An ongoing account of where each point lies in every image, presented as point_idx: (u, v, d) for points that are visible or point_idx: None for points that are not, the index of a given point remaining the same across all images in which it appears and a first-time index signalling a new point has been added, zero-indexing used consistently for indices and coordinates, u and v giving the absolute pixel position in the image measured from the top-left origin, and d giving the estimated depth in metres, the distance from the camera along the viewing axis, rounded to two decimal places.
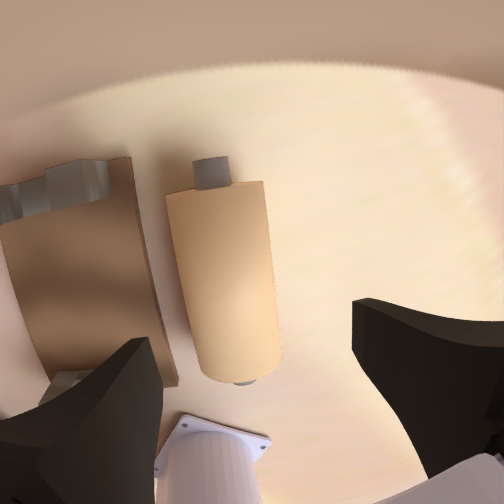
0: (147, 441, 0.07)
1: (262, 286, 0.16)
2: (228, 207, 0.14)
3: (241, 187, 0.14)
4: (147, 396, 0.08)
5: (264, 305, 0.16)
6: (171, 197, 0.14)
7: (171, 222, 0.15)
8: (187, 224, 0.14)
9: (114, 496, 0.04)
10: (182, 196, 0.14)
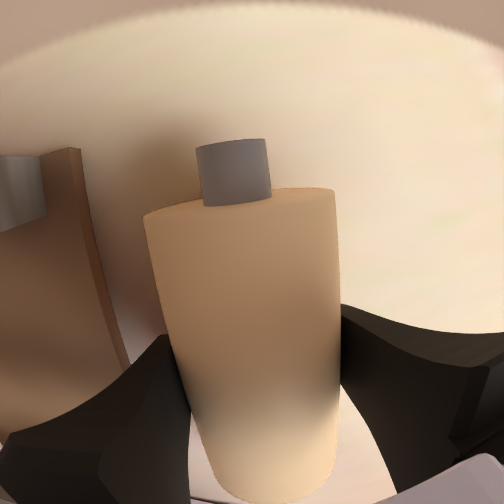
0: (181, 439, 0.08)
1: (336, 373, 0.08)
2: (301, 243, 0.06)
3: (320, 200, 0.07)
4: (180, 393, 0.09)
5: (335, 400, 0.09)
6: (165, 223, 0.06)
7: (161, 276, 0.07)
8: (209, 284, 0.06)
9: (161, 497, 0.05)
10: (196, 221, 0.06)
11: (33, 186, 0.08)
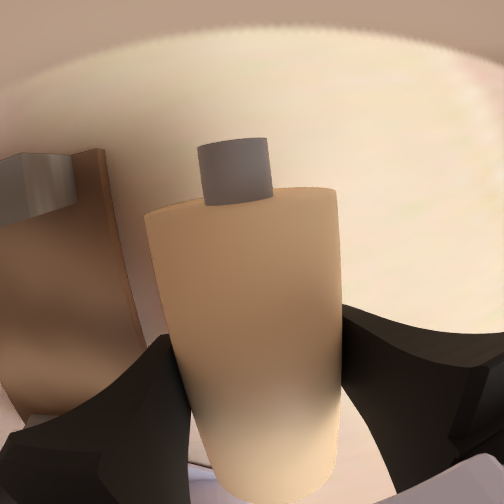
0: (181, 439, 0.08)
1: (337, 374, 0.08)
2: (302, 243, 0.06)
3: (321, 200, 0.07)
4: (180, 393, 0.09)
5: (336, 400, 0.09)
6: (165, 222, 0.06)
7: (162, 275, 0.07)
8: (209, 284, 0.06)
9: (161, 497, 0.05)
10: (196, 220, 0.06)
11: (67, 179, 0.11)
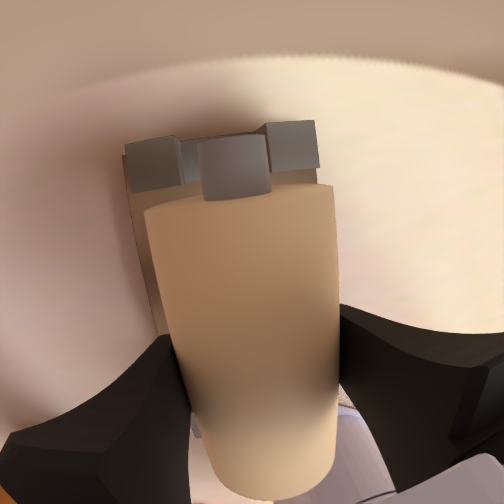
0: (181, 439, 0.08)
1: (333, 371, 0.08)
2: (294, 238, 0.06)
3: (315, 196, 0.07)
4: (180, 393, 0.09)
5: (332, 397, 0.09)
6: (162, 217, 0.07)
7: (160, 268, 0.07)
8: (202, 277, 0.07)
9: (161, 497, 0.05)
10: (190, 215, 0.06)
11: None
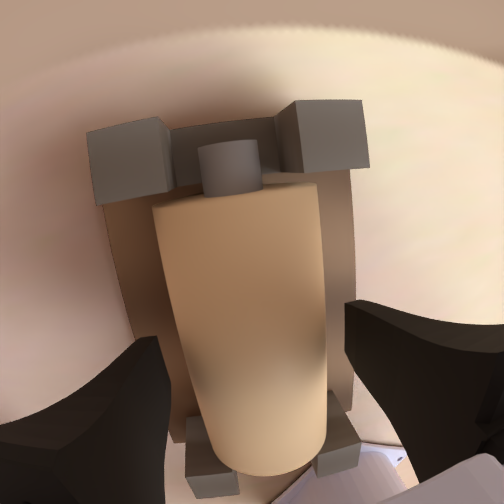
0: (157, 440, 0.08)
1: (320, 349, 0.10)
2: (280, 227, 0.08)
3: (299, 191, 0.08)
4: (157, 395, 0.09)
5: (320, 374, 0.10)
6: (168, 210, 0.08)
7: (166, 255, 0.09)
8: (203, 261, 0.08)
9: (128, 497, 0.04)
10: (192, 208, 0.07)
11: None
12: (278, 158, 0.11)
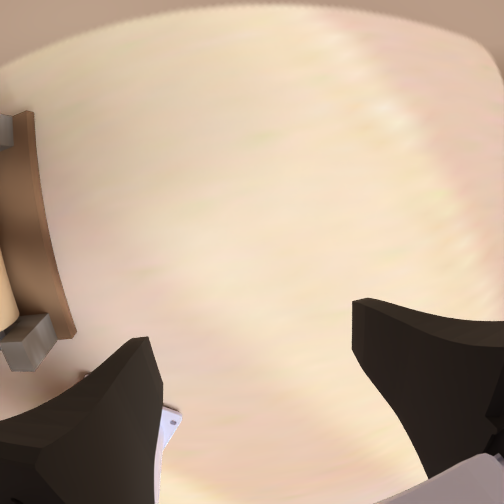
0: (147, 441, 0.07)
1: None
2: None
3: None
4: (147, 396, 0.08)
5: None
6: None
7: None
8: None
9: (114, 496, 0.04)
10: None
11: (7, 129, 0.14)
12: None
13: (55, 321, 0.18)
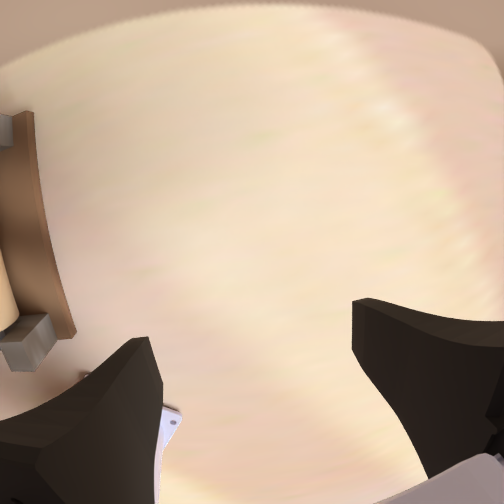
0: (147, 441, 0.07)
1: None
2: None
3: None
4: (147, 396, 0.08)
5: None
6: None
7: None
8: None
9: (114, 496, 0.04)
10: None
11: (7, 129, 0.14)
12: None
13: (55, 321, 0.18)
